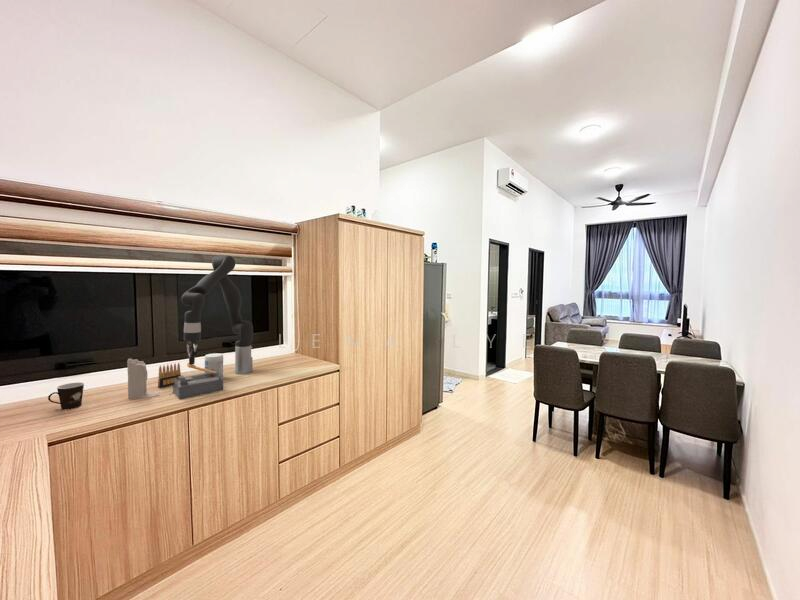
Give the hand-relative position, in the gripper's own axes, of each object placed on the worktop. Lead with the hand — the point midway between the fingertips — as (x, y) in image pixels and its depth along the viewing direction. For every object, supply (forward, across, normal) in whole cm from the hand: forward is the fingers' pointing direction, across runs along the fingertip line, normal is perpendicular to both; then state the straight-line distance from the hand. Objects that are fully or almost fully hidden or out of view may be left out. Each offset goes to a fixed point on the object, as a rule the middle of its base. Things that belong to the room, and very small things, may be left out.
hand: (191, 364), depth 170 cm
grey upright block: (+16, +9, +18) cm, 25 cm away
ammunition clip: (+15, +20, +6) cm, 26 cm away
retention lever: (+4, 0, -5) cm, 6 cm away
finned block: (+15, 0, -3) cm, 15 cm away
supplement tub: (+15, +16, -15) cm, 27 cm away
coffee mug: (+17, +13, +46) cm, 50 cm away
